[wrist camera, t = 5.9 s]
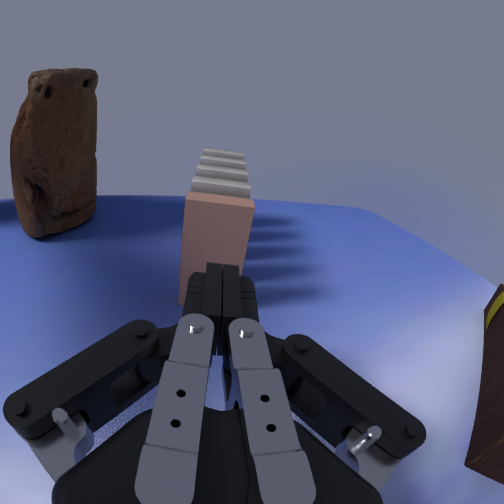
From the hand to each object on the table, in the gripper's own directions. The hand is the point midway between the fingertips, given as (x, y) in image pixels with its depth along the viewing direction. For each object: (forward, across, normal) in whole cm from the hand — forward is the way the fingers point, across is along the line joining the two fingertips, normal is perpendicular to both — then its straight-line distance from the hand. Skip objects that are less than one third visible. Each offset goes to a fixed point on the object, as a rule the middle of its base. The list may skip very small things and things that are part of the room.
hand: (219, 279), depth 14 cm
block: (+20, +21, +9) cm, 31 cm away
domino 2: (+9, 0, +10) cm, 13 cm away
